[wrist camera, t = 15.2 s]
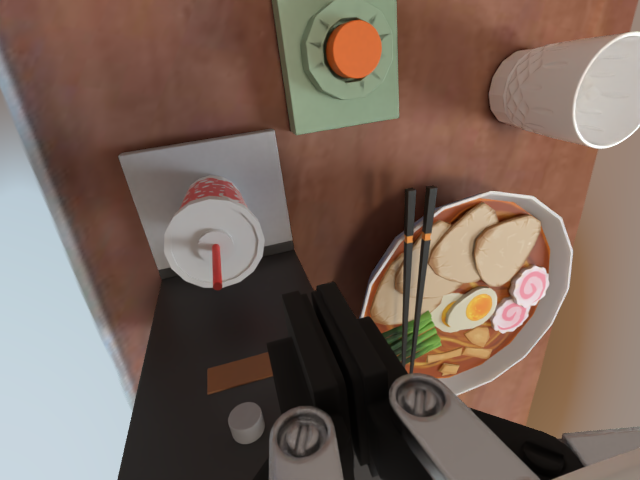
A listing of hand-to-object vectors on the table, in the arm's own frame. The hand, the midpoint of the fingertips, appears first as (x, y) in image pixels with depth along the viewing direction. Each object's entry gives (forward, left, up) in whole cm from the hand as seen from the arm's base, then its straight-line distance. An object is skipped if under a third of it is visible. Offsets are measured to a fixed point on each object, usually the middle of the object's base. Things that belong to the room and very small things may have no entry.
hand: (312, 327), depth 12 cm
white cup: (-3, +27, -23) cm, 36 cm away
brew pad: (-8, +9, -23) cm, 26 cm away
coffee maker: (+6, -3, -23) cm, 24 cm away
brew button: (-8, +9, -20) cm, 23 cm away
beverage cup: (+2, -3, -22) cm, 23 cm away
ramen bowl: (+15, +18, -23) cm, 33 cm away
